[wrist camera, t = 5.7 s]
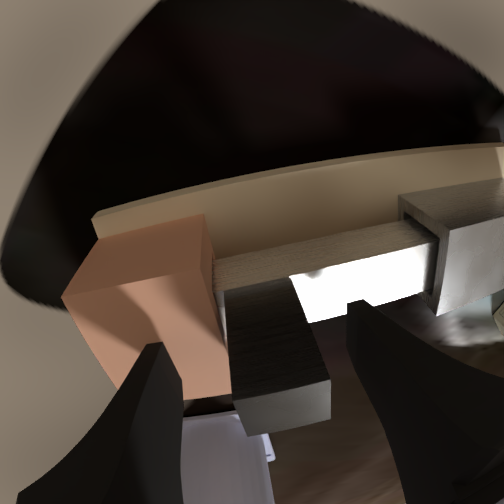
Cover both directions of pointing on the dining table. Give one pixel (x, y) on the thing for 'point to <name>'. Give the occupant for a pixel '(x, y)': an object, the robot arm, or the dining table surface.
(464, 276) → the grey sleeve
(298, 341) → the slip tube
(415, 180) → the birch board
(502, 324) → the skincare box
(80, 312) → the socket block
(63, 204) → the dining table surface
